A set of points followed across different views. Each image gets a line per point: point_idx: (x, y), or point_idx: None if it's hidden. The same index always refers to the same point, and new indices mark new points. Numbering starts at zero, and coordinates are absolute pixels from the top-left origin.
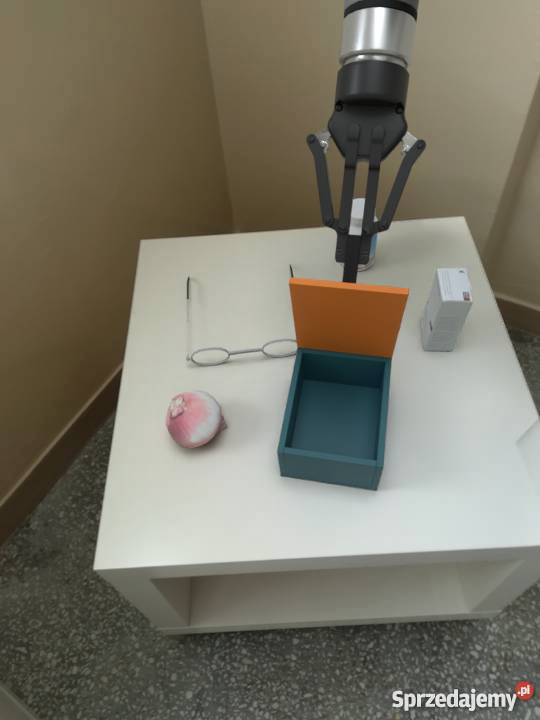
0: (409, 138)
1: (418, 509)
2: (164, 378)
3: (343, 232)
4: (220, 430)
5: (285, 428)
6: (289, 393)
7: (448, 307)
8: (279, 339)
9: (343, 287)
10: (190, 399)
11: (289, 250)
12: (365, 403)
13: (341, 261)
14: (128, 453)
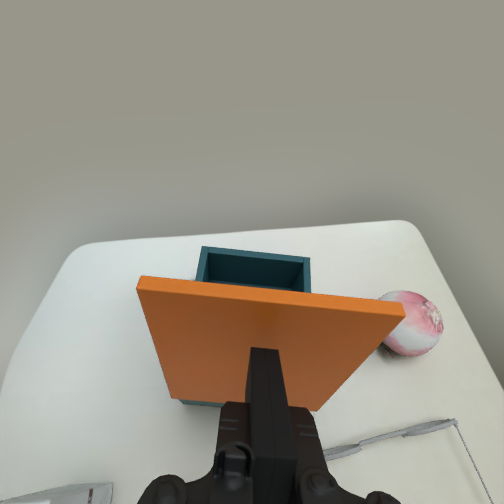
0: None
1: (168, 263)
2: (463, 398)
3: (312, 468)
4: None
5: (306, 281)
6: None
7: (43, 497)
8: (341, 456)
9: (282, 292)
10: (423, 320)
11: None
12: None
13: (293, 408)
14: (446, 301)
